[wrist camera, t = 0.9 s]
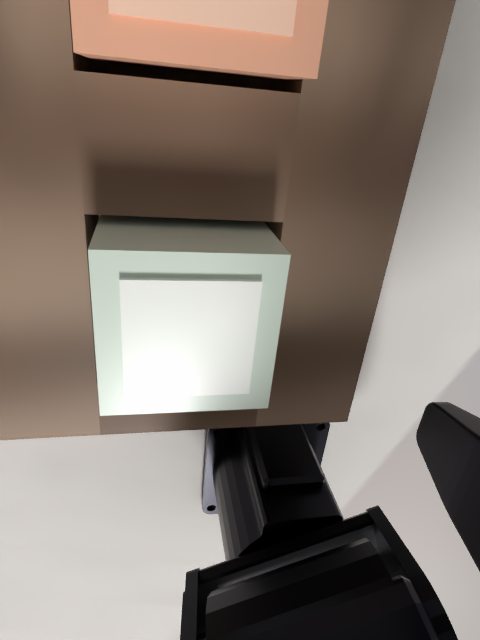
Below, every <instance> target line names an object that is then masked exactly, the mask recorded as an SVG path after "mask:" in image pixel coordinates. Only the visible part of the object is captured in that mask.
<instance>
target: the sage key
mask: <svg viewBox="0 0 480 640" xmlns="http://www.w3.org/2000/svg"><path fill="white" fill-rule="evenodd" d="M290 258H291V254H290V253H289V252H288V251H287V249H286V248H285V247H284V246H283V244H282V243H281V242H280V241H279V240H278V238H277V237H276V236H275V235H274V233H273V232H272V231H271V230H270V228H269V227H268V226H267V225H266V224H265V222H263V221H239V220H214V219H190V218H165V217H141V216H116V215H100V217H99V220H98V223H97V226H96V228H95V231H94V234H93V237H92V239H91V242H90V245H89V248H88V259H89V273H90V287H91V301H92V315H93V328H94V342H95V356H96V370H97V384H98V397H99V411H100V416H109V415H131V414H153V413H175V412H196V411H218V410H240V409H262V408H268V405H269V398H270V392H271V385H272V378H273V372H274V365H275V358H276V351H277V345H278V338H279V331H280V325H281V318H282V311H283V305H284V298H285V291H286V284H287V278H288V271H289V264H290Z"/></svg>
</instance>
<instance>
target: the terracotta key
mask: <svg viewBox="0 0 480 640" xmlns="http://www.w3.org/2000/svg"><path fill="white" fill-rule="evenodd" d="M328 3H329V0H70V10H71V24H72V38H73V52H74V53H77V54H79V55H82V56H85V57H87V58H90V59H93V60H101V61H110V62H119V63H128V64H138V65H147V66H156V67H166V68H175V69H184V70H194V71H203V72H212V73H222V74H231V75H240V76H250V77H259V78H268V79H317V77H318V70H319V63H320V57H321V50H322V43H323V36H324V30H325V23H326V16H327V10H328Z"/></svg>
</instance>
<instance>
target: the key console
mask: <svg viewBox="0 0 480 640" xmlns="http://www.w3.org/2000/svg"><path fill="white" fill-rule="evenodd" d="M454 4H455V0H329V3H328V10H327V16H326V23H325V30H324V36H323V43H322V50H321V57H320V63H319V70H318V77H317V79H268V78H259V77H250V76H240V75H231V74H222V73H212V72H203V71H194V70H184V69H175V68H166V67H156V66H147V65H138V64H128V63H119V62H110V61H101V60H93V59H90V58H87V57H85V56H82V55H79V54H77V53H74V52H73V38H72V24H71V10H70V0H0V440H13V439H31V438H50V437H68V436H87V435H105V434H124V433H142V432H161V431H179V430H198V429H216V428H235V427H253V426H272V425H290V424H309V423H327V422H346V421H347V420H348V416H349V412H350V408H351V404H352V400H353V397H354V393H355V389H356V385H357V381H358V377H359V373H360V369H361V366H362V362H363V358H364V354H365V350H366V346H367V342H368V338H369V334H370V331H371V327H372V323H373V319H374V315H375V311H376V307H377V303H378V299H379V296H380V292H381V288H382V284H383V280H384V276H385V272H386V268H387V265H388V261H389V257H390V253H391V249H392V245H393V241H394V237H395V233H396V230H397V226H398V222H399V218H400V214H401V210H402V206H403V202H404V199H405V195H406V191H407V187H408V183H409V179H410V175H411V171H412V167H413V164H414V160H415V156H416V152H417V148H418V144H419V140H420V136H421V132H422V129H423V125H424V121H425V117H426V113H427V109H428V105H429V101H430V98H431V94H432V90H433V86H434V82H435V78H436V74H437V70H438V66H439V63H440V59H441V55H442V51H443V47H444V43H445V39H446V35H447V32H448V28H449V24H450V20H451V16H452V12H453V8H454ZM100 215H116V216H141V217H165V218H190V219H214V220H239V221H263V222H265V224H266V225H267V226H268V227H269V228H270V230H271V231H272V232H273V233H274V235H275V236H276V237H277V238H278V240H279V241H280V242H281V243H282V244H283V246H284V247H285V248H286V249H287V251H288V252H289V253H290V254H291V258H290V264H289V271H288V278H287V284H286V291H285V298H284V305H283V311H282V318H281V325H280V331H279V338H278V345H277V351H276V358H275V365H274V372H273V378H272V385H271V392H270V398H269V405H268V408H262V409H240V410H218V411H196V412H175V413H153V414H131V415H109V416H100V411H99V397H98V384H97V370H96V356H95V342H94V328H93V315H92V301H91V287H90V273H89V259H88V248H89V245H90V242H91V239H92V237H93V234H94V231H95V228H96V226H97V223H98V220H99V217H100Z"/></svg>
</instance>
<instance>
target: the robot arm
mask: <svg viewBox="0 0 480 640" xmlns="http://www.w3.org/2000/svg"><path fill="white" fill-rule="evenodd" d="M319 424H321V425H319ZM317 425H319V426H317ZM329 428H330V424H329V422H327V423H309V424H290V425H272V426H253V427H235V428H216V429H207V437H206V451H205V465H204V479H203V493H202V509H203V512H204V513H206V514H218V515H219V521H220V527H221V533H222V540H223V546H224V552H225V558H226V561H224V562H221V563H219V564H216V565H213V566H210V567H207V568H204V569H201V570H200V569H199V568H197V569H194V570H192V571H189V572H187V573H186V586H185V592H183V604H182V619H181V635H180V640H458V639H457V636H456V634H455V631H454V629H453V627H452V625H451V623H450V620H449V618H448V616H447V614H446V612H445V610H444V608H443V606H442V604H441V602H440V600H439V598H438V596H437V594H436V593H435V591H434V589H433V587H432V585H431V583H430V582H429V580H428V579H427V577H426V576H425V574H424V572H423V571H422V569H421V568H420V567H419V565H418V564H417V562H416V561H415V559H414V558H413V556H412V555H411V553H410V552H409V550H408V549H407V547H406V546H405V545H404V543H403V541H402V540H401V539H400V537H399V535H398V534H397V533H396V531H395V529H394V528H393V526H392V525H391V524H390V522H389V521H388V519H387V518H386V516H385V515H384V513H383V512H382V510H381V509H380V507H379V506H375V507H372V508H369V509H367V510H366V511H367V512H365V513H362V514H359V515H356V516H353V517H350V518H347V519H345V520H344V518H343V516H342V514H341V511H340V509H339V507H338V505H337V502H336V500H335V498H334V496H333V493H332V491H331V489H330V487H329V484H328V482H327V480H326V478H325V475H324V473H323V471H322V468H321V461H322V457H323V453H324V449H325V445H326V440H327V436H328V432H329ZM217 429H221V430H220V431H217V432H216V431H215V430H217ZM416 436H417V437H416V438H417V443H418V446H419V448H420V451H421V453H422V455H423V458H424V460H425V462H426V465H427V467H428V469H429V472H430V474H431V476H432V479H433V481H434V483H435V486H436V488H437V490H438V492H439V495H440V497H441V499H442V502H443V504H444V506H445V508H446V510H447V512H448V514H449V516H450V518H451V520H452V522H453V524H454V525H455V527H456V529H457V531H458V533H459V534H460V536H461V538H462V540H463V542H464V544H465V545H466V547H467V549H468V551H469V553H470V555H471V556H472V558H473V560H474V562H475V564H476V566H477V567H478V569H479V571H480V418H479V417H477V416H475V415H473V414H471V413H469V412H467V411H465V410H463V409H461V408H459V407H457V406H455V405H453V404H451V403H448V402H432V403H429V404H428V405H427V406H426V408H425V411H424V413H423V416H422V419H421V422H420V424H419V427H418V430H417V435H416Z"/></svg>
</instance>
